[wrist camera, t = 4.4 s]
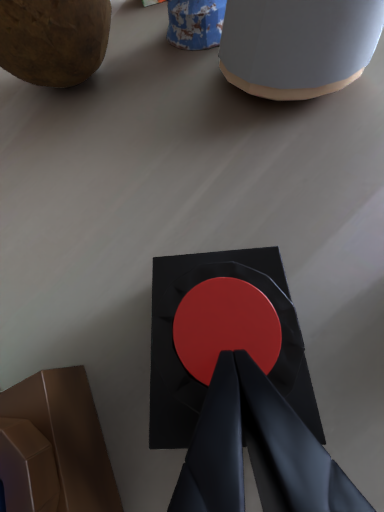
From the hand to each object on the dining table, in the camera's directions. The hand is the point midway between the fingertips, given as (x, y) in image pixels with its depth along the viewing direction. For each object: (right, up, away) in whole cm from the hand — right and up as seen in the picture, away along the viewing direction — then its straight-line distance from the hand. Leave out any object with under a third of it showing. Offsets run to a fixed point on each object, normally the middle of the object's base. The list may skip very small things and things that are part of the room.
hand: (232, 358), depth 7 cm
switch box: (+1, -3, +10) cm, 11 cm away
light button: (0, -1, +4) cm, 4 cm away
